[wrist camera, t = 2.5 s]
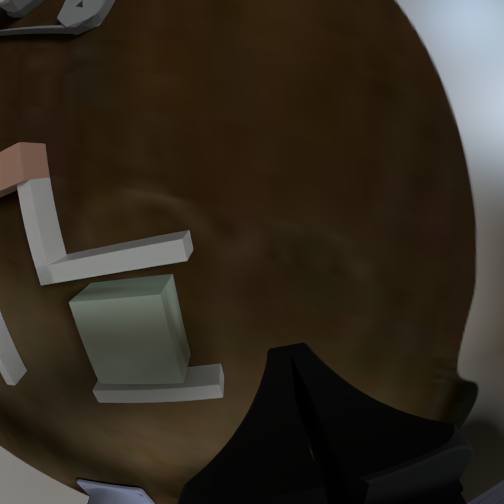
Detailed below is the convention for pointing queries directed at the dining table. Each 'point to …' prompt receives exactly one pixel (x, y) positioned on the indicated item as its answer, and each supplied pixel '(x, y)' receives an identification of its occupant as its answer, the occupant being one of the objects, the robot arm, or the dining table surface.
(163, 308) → the block
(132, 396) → the channel
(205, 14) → the dining table surface
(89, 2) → the pulley system
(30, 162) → the block
